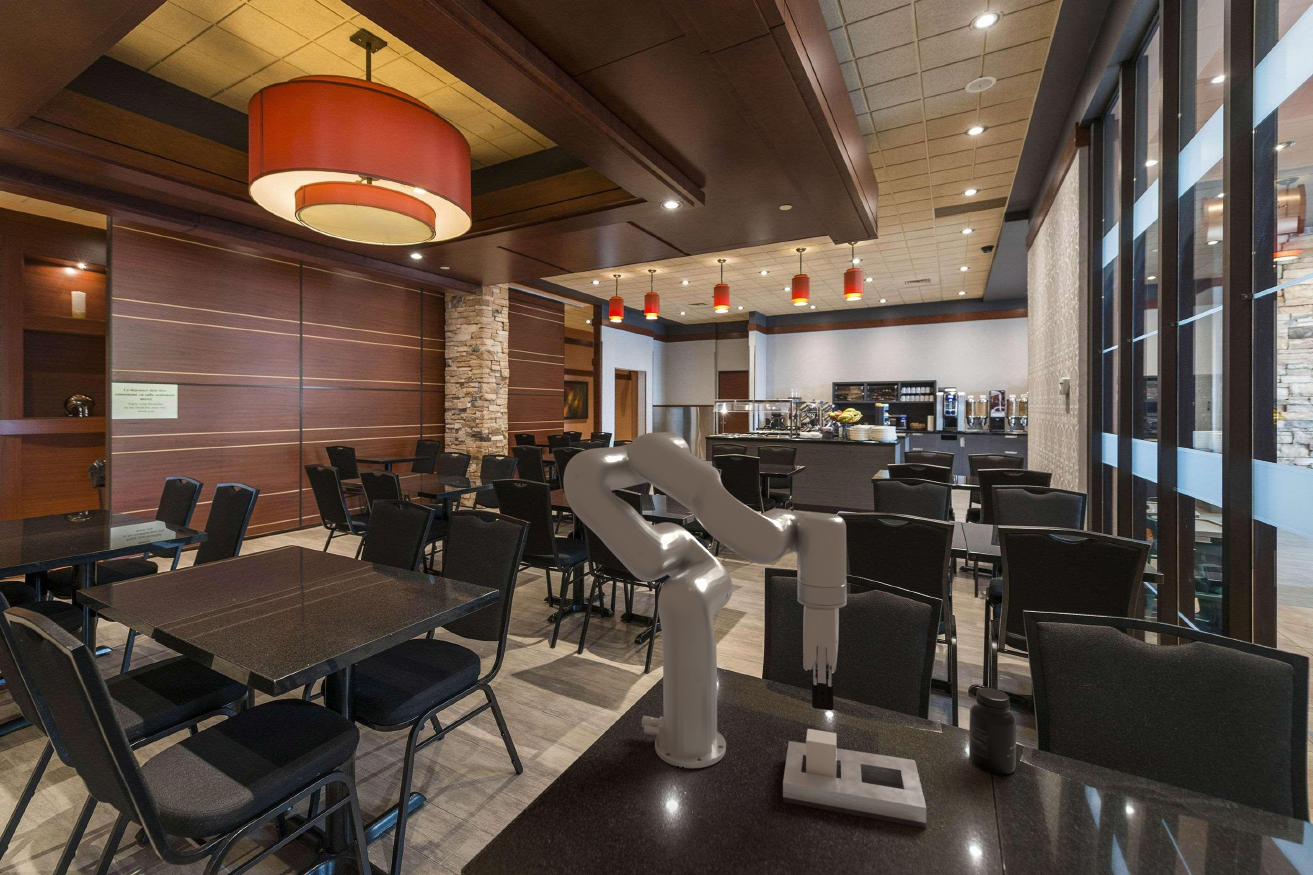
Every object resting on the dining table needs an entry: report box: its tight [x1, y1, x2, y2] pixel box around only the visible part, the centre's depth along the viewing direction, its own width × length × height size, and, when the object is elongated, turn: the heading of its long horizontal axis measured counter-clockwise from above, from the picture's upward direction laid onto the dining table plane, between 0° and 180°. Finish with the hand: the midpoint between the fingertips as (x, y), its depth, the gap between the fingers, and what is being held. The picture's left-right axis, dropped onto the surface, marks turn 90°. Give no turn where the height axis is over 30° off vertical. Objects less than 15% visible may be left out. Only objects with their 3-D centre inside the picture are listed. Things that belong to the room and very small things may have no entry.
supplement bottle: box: [968, 687, 1017, 776], centre depth 97 cm, size 7×7×12 cm
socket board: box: [782, 740, 927, 829], centre depth 91 cm, size 20×12×3 cm, turn 73°
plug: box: [805, 728, 837, 778], centre depth 92 cm, size 4×4×7 cm
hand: (822, 706), depth 91 cm, fingers closed
